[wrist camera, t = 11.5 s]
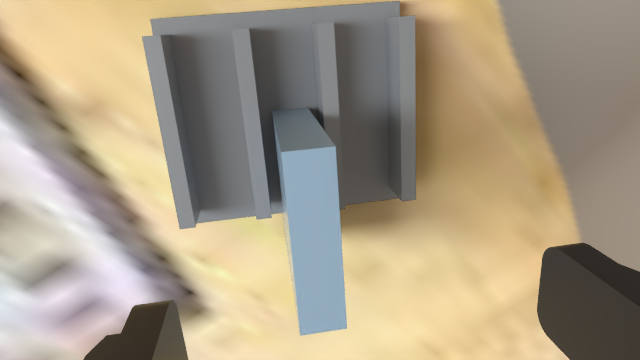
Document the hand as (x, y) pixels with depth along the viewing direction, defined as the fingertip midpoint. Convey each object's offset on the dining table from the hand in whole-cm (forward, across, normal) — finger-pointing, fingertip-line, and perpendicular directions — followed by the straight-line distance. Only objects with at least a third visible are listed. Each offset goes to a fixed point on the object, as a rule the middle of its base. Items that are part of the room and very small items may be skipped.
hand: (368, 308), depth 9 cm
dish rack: (+24, 0, 0) cm, 24 cm away
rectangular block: (+22, 0, +4) cm, 23 cm away
